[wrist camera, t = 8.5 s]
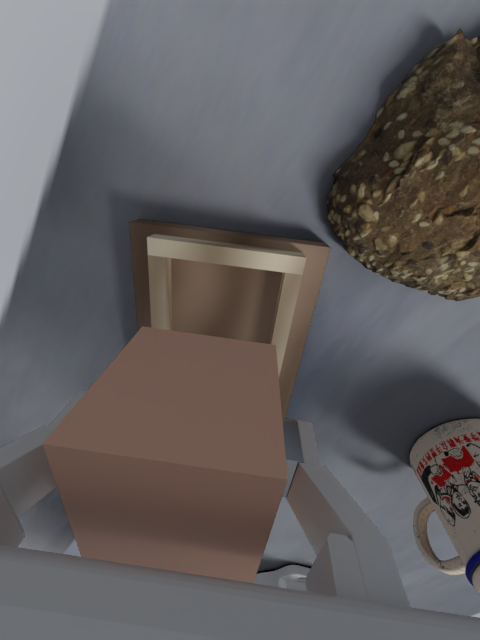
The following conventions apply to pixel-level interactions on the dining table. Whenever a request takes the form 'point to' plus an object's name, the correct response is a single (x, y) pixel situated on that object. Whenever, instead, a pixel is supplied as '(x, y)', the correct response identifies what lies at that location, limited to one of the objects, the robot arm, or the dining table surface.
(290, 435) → the robot arm
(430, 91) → the bread roll
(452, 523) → the teacup with lid
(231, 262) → the assembly board
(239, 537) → the terracotta cube
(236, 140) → the dining table surface
